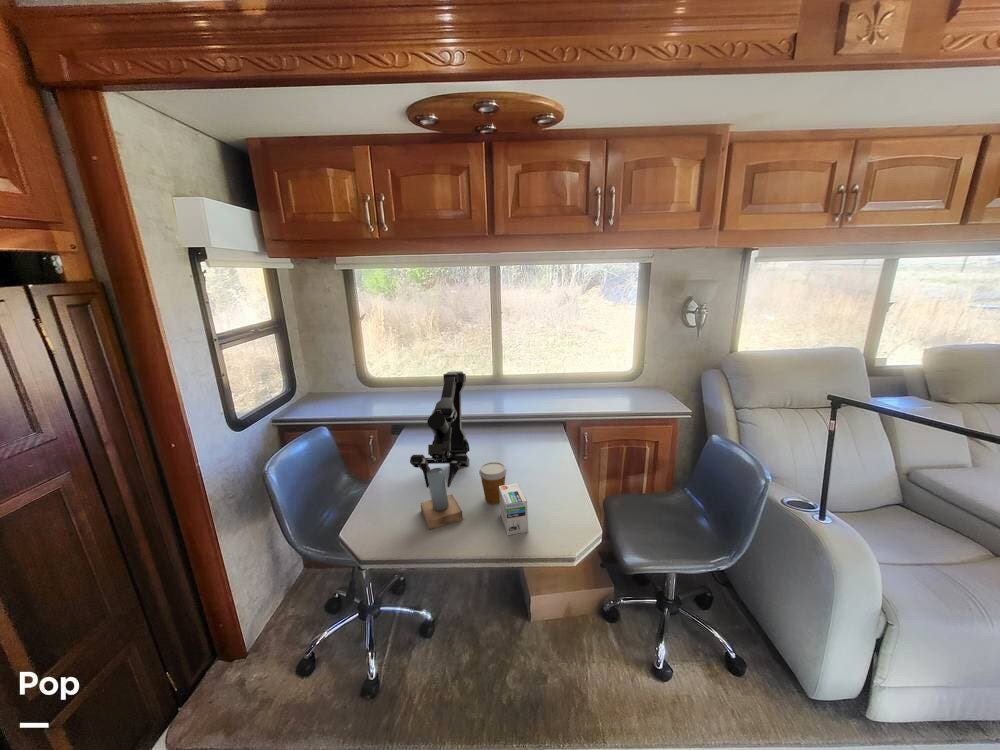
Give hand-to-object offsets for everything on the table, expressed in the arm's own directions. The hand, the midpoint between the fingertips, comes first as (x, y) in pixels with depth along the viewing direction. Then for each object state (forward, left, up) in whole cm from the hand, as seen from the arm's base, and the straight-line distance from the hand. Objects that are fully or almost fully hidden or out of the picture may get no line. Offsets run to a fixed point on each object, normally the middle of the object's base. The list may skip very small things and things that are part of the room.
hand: (437, 487), depth 118 cm
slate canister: (-1, -1, -8) cm, 8 cm away
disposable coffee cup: (-20, -1, -11) cm, 23 cm away
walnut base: (-1, -1, -11) cm, 11 cm away
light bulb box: (-20, +14, -11) cm, 27 cm away
